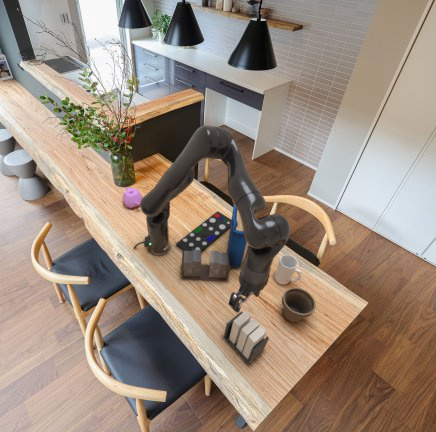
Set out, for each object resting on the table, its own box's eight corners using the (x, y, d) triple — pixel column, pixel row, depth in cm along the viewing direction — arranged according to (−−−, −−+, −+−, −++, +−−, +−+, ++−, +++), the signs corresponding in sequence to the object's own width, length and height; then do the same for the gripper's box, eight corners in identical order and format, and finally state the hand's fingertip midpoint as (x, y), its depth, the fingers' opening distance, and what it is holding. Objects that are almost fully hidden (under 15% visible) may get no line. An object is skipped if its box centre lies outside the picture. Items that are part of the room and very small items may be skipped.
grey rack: (181, 279, 130) (181, 262, 121) (182, 264, 135) (182, 247, 127) (227, 281, 128) (230, 264, 120) (226, 266, 134) (229, 249, 125)
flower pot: (302, 300, 122) (309, 286, 115) (312, 327, 113) (320, 314, 106) (273, 301, 122) (279, 287, 114) (281, 328, 113) (288, 315, 106)
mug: (270, 278, 129) (276, 260, 121) (279, 269, 132) (286, 251, 124) (291, 293, 124) (299, 276, 115) (300, 283, 127) (308, 266, 119)
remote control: (234, 224, 152) (235, 221, 151) (193, 258, 137) (194, 255, 136) (217, 213, 158) (217, 210, 157) (176, 245, 143) (176, 242, 141)
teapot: (137, 193, 170) (135, 180, 164) (148, 209, 161) (147, 195, 154) (119, 199, 167) (117, 186, 160) (130, 216, 157) (128, 202, 151)
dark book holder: (223, 337, 111) (227, 318, 101) (238, 325, 115) (243, 305, 104) (248, 364, 104) (255, 347, 94) (263, 351, 108) (271, 332, 97)
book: (241, 271, 132) (250, 232, 114) (225, 268, 133) (231, 229, 115) (243, 234, 147) (252, 195, 129) (229, 232, 148) (235, 193, 130)
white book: (228, 338, 110) (233, 320, 100) (240, 328, 113) (245, 310, 103) (234, 344, 109) (239, 326, 99) (245, 334, 111) (251, 315, 101)
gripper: (261, 250, 88) (252, 281, 100) (226, 276, 82) (220, 306, 94) (282, 267, 84) (270, 298, 95) (246, 295, 78) (238, 324, 89)
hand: (245, 302), depth 94 cm, fingers open, 8 cm apart
